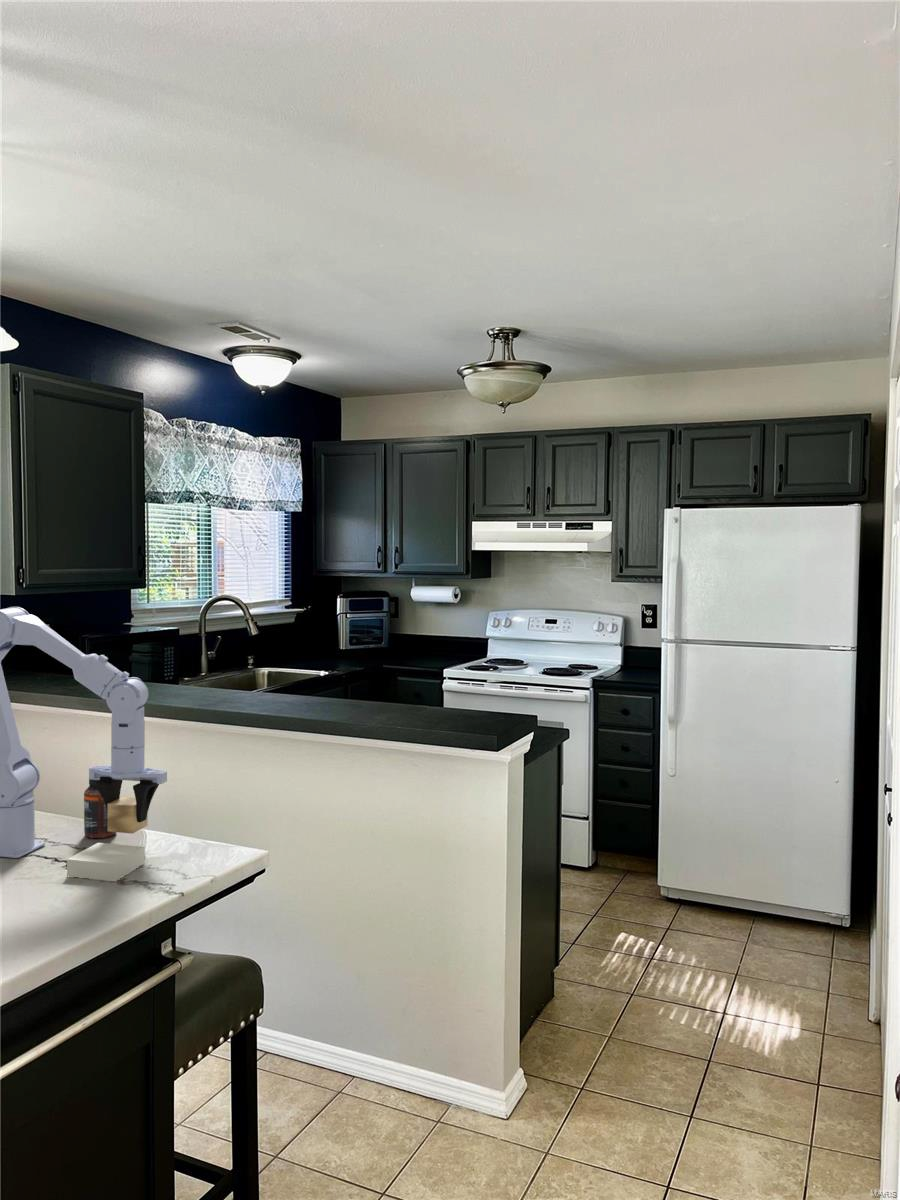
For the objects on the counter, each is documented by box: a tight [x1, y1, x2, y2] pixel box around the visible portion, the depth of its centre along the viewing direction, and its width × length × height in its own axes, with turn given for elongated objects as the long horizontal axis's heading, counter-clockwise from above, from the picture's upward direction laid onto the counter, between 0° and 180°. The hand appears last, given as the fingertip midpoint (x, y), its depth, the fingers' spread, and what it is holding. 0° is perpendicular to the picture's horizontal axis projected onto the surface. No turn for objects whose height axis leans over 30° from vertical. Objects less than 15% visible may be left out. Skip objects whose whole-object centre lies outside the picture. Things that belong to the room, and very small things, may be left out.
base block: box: [66, 842, 146, 883], centre depth 154 cm, size 9×9×3 cm
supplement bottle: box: [83, 778, 117, 839], centre depth 173 cm, size 6×6×11 cm
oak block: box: [108, 796, 149, 834], centre depth 164 cm, size 5×5×5 cm
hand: (127, 819), depth 164 cm, fingers closed on oak block, 5 cm apart
